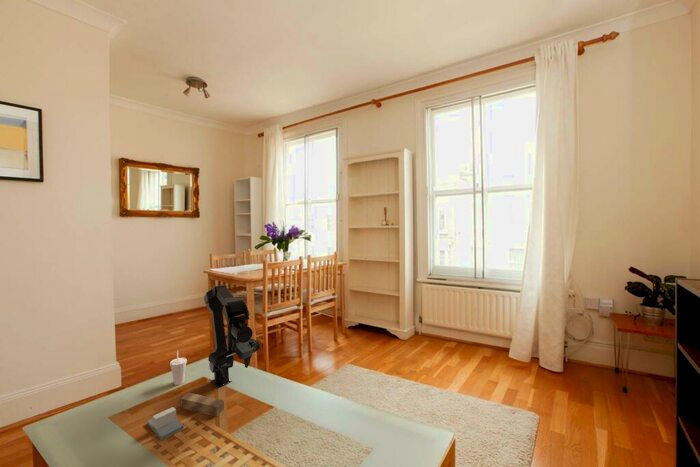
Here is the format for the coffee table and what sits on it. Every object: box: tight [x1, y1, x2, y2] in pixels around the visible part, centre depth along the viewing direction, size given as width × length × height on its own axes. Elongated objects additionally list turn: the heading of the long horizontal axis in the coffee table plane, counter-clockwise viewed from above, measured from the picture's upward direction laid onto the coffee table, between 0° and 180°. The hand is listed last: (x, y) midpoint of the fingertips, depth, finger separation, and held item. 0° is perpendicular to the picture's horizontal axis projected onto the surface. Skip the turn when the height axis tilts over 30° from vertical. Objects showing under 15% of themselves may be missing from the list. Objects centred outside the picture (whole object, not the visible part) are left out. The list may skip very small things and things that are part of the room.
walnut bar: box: [180, 392, 225, 417], centre depth 120 cm, size 16×4×4 cm, turn 74°
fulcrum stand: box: [146, 406, 185, 441], centre depth 110 cm, size 12×7×5 cm, turn 52°
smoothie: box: [169, 350, 188, 386], centre depth 136 cm, size 6×6×14 cm
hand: (235, 372), depth 122 cm, fingers open, 9 cm apart
